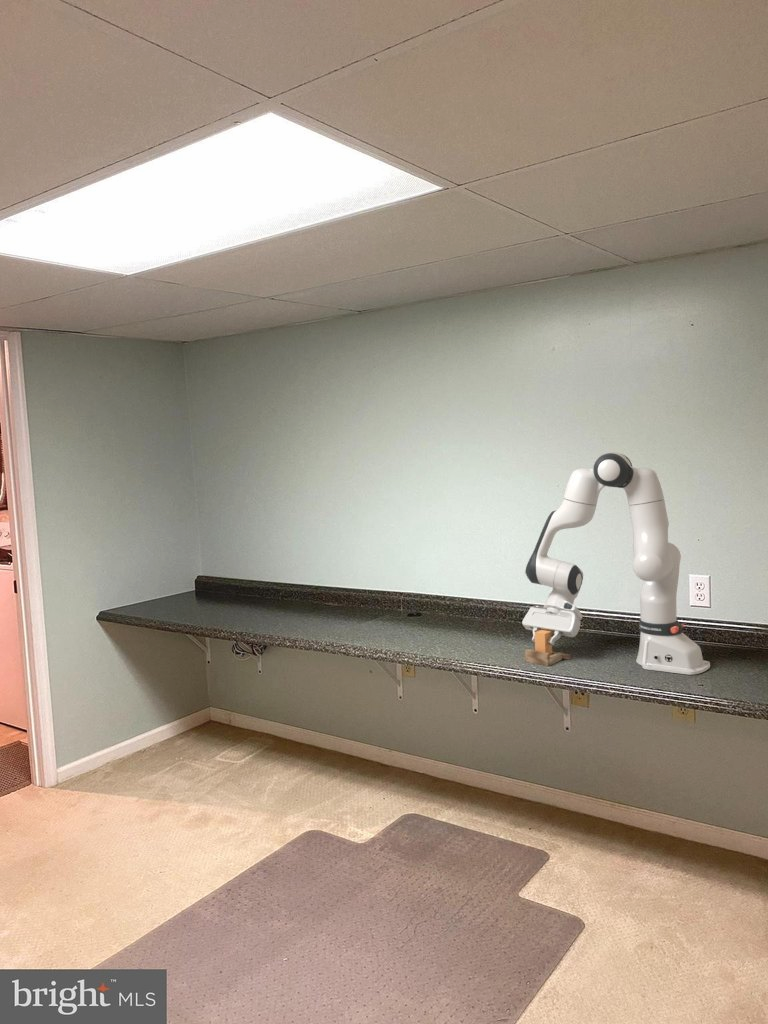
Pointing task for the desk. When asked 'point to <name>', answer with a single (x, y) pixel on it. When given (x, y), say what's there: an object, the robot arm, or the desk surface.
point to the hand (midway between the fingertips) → (542, 642)
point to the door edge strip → (564, 655)
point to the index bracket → (542, 657)
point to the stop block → (543, 641)
